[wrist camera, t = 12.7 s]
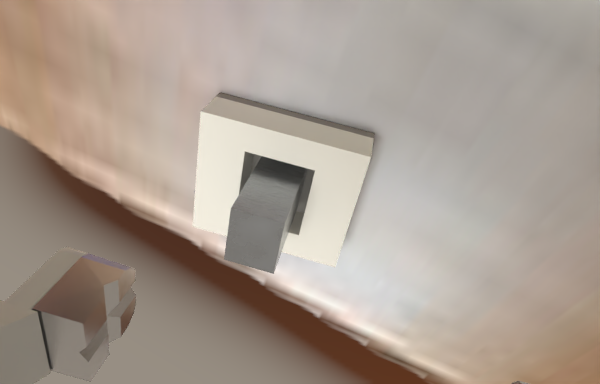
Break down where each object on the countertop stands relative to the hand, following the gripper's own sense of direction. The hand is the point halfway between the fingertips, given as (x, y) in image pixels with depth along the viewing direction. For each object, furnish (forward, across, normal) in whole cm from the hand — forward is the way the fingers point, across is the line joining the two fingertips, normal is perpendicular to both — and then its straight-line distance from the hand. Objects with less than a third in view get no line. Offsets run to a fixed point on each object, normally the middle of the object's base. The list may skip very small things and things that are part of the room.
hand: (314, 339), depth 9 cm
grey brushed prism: (+28, +5, +14) cm, 32 cm away
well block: (+29, +5, +14) cm, 33 cm away
